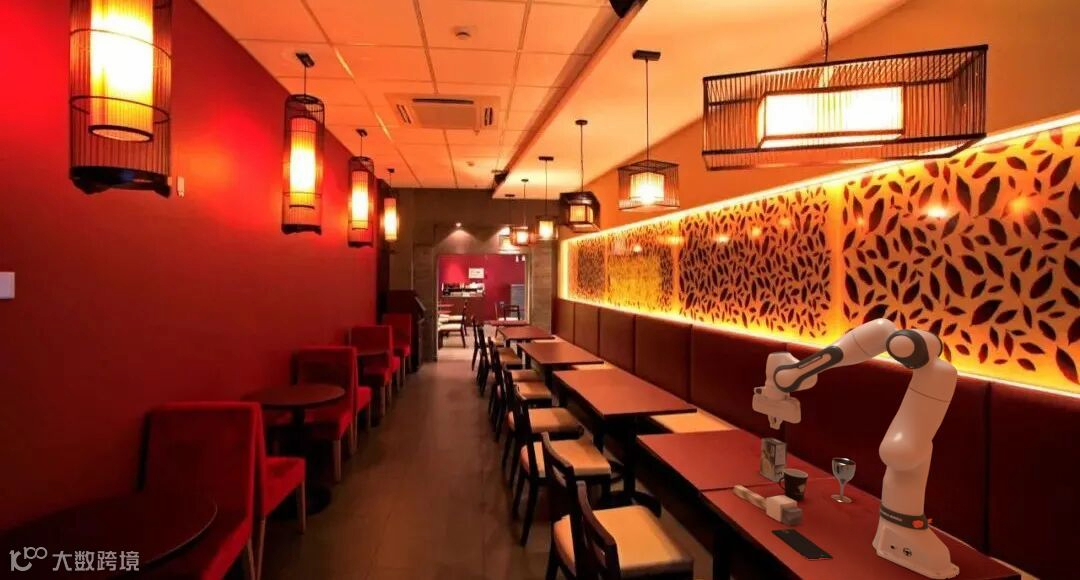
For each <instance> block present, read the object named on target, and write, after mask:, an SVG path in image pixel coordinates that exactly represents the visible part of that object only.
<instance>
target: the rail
mask: <svg viewBox="0 0 1080 580" xmlns="http://www.w3.org/2000/svg"><path fill="white" fill-rule="evenodd" d="M733 494H734V495H736V496H738V497H739V498H741V499H743V500H745V501H746V502H749V503H750V504H752V505H754V506H756V507H758V508H760V509H761V510H763V511H765V512H766V511H767V506H766V505H767V498H765V497H763V496H761V494H758V493H756V492H754V491H752V490H750V489H748V488H746V487H744V486H742V485H741V484H736V485H733ZM802 519H803V509H801V508H799V507H798V506H797V507H796V506H794V507H789V508H783V515H782V522H781V523H782V524H784V525H786V526H788V527H793V526H797V525H802V524H803V523H802V521H803V520H802Z"/></svg>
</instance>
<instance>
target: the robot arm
mask: <svg viewBox="0 0 1080 580" xmlns="http://www.w3.org/2000/svg"><path fill="white" fill-rule="evenodd" d="M885 352H887V353H888V355H889V356H890V357H891V358H892V359H894V361H897V363H899V364H901V365H902V366H903V367H905V368H907V369H908V370H912V377H911V380H910V381H909V384H908V387H907V390H906V392H905V394H904V396H903V399H902V402H901V404H900V406H899V408H898V411H897V412H896V415H895V416H894V418H893V419H892V421H891V423H890V425H889V427H888V429H887V431H886V433H885V435H884V437H883V439H882V441H881V443H880V445H879V447H878V448H879V449H878V453H879V458H880V460H881V461H882V462H883V463H884V465H886V469H885V473H884V475H883V479H882V490H881V501H880V502H879V508H878V515H879V516H878V517H879V521H878V525H877V530H876V533H875V537H874V539H873V541H872V544H871V545H872V546H873V548H874V549H875V550H876V555H877V556H879V557H880V558H883V559H886V560H887V561H890V562H893V563H894V564H897V565H899V566H901V567H904V568H907V569H908V570H911V571H914V572H915V573H917V574H920V575H923V576H924V577H927V578H929V579H933V580H934V579H936V580H945V579H946V578H948V579H951V578H955V577H957V576H958V575H959V574H960V567H959V566H957V565H955V564H954V563H952V562H951V554H950V551H949V548H948V547H947V546H946V544H944V542H942V541H941V539H940V538H939V537H938V536H937V535H936V534H935V533H934V531H932V529H930V528H931V527H929V526H930V525H929V524H930V523H931V524H932V520H933V518H928V519H927V517H926V514H925V512H924V505H925V494H926V493H925V492H926V487H927V482H928V476H929V472H930V466H931V459H932V454H933V446H934V445H933V441H932V440H933V439H934V437H935V435H936V434H937V431H938V430H939V428H940V426H941V424H942V423H943V420H944V418H945V416H946V413H947V410H948V408H949V405H950V404H951V401H952V398H953V396H954V393H955V390H956V386H957V380H958V374H959V373H958V370H957V369H956V367H955V366H954V365H953V364H951V363H950V362H948V361H946V360H943V359H942V358H940V357H941V355H942V353H943V352H944V344H943V341H942V339H941V338H940V336H939V335H937V334H936V333H934V332H932V331H930V330H926V329H918V328H904V329H902V328H901V329H900V328H898V327H897V325H896V324H895V323H894V322H892V321H891V320H889V319H887V318H883V317H881V318H880V317H879V318H876V319H873V320H871V321H868V322H865V323H863V324H860V325H859V326H856V327H855V328H853V329H852V330H850V331H848V332H846V333H845V334H843V335H842V336H840V337H838V339H836V340H834V341H833V342H832V343H830V344H828V345H827V346H826V347H824V348H822V349H821V350H819V351H817V352H815V353H814V354H812V355H810V356H808V357H805V358H804V359H802V360H799V359H798V358H796V357H794V356H793V355H792V354H791V352H789V351H776V352H771V353H769V354H768V357H767V360H766V369H765V375H766V380H765V382H764V385H763V386H760V387H759V386H758V387H754V388H753V392H754V394H753V396H752V409H753V411H755V412H758V413H761V414H764V415H767V418H768V421H769V426H770V428H773V429H775V430H780V428H781V427H780V425H781V424H782V423H783V421H786V422H789V423H791V424H798V423H800V422H801V420H802V418H801V417H802V416H801V415H802V414H801V402H800V400H799V399H797V398H796V397H792V396H790V394H791V393H793V392H797V391H803V390H808V389H811V388H812V387H814V386H815V385H816V384H817V383H818V374H819V373H822V372H823V371H824V372H825V370H829V369H832V368H838V367H843V366H844V367H845V366H851V365H856V364H860V363H864V362H867V361H869V360H871V359H873V358H875V357H877V356H879V355H881V354H883V353H885ZM956 575H957V576H956Z"/></svg>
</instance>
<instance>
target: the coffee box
mask: <svg viewBox="0 0 1080 580" xmlns="http://www.w3.org/2000/svg"><path fill="white" fill-rule="evenodd" d="M760 447H761V449H760V450H761V452H760V467H759V468H760V469H759V475H761V476H763V477H764V478H766V479H768V480H769V481H772V482H773V483H779V480H780V479H781V478H782V477H784V470H785V469H787V457H788V456H787V455H788V443H786V442H783V441H782V440H779V439H778V438H777V439H776V438H774V437H766V438H761V446H760ZM781 482H784V479H782V480H781Z"/></svg>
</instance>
